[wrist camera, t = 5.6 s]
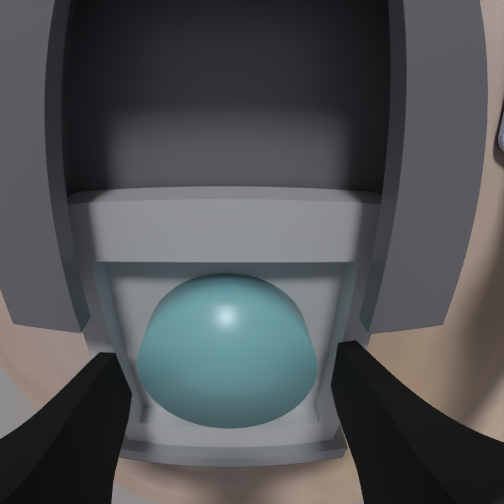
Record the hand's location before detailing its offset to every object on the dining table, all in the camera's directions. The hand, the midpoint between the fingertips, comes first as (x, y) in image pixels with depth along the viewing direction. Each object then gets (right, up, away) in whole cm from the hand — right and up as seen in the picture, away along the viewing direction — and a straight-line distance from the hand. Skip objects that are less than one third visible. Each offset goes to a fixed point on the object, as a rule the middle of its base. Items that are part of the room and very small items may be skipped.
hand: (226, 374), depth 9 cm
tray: (0, +1, +3) cm, 3 cm away
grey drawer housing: (0, +9, 0) cm, 9 cm away
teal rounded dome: (0, +1, +1) cm, 1 cm away
